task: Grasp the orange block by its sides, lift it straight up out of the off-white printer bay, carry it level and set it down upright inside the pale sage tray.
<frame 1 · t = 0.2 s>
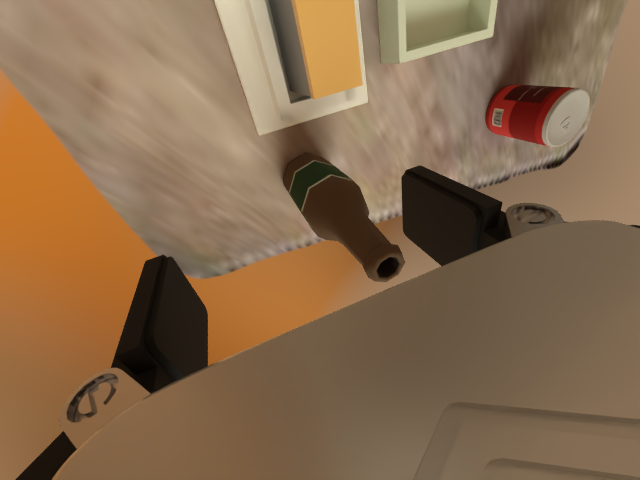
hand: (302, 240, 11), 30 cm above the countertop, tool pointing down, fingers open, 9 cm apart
beer bottle: (306, 176, 42), on the countertop
printer bay: (294, 28, 32), on the countertop
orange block: (299, 43, 32), point 1 cm above the countertop, touching printer bay
canned food: (501, 109, 48), on the countertop
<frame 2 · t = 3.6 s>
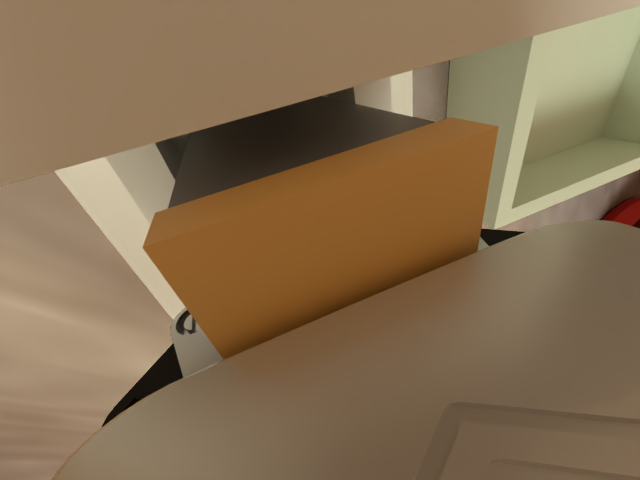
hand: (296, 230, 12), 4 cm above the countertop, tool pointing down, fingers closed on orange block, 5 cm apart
printer bay: (267, 166, 14), on the countertop
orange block: (279, 199, 14), point 1 cm above the countertop, touching gripper, printer bay
tray: (550, 41, 16), on the countertop
canned food: (610, 227, 30), on the countertop
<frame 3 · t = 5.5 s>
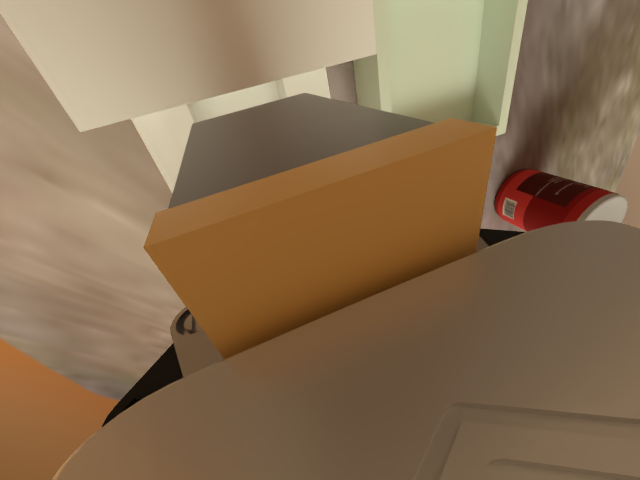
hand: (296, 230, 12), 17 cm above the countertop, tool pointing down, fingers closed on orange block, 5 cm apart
printer bay: (247, 134, 25), on the countertop
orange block: (279, 199, 14), point 14 cm above the countertop, touching gripper
tray: (420, 61, 27), on the countertop
canned food: (513, 193, 41), on the countertop
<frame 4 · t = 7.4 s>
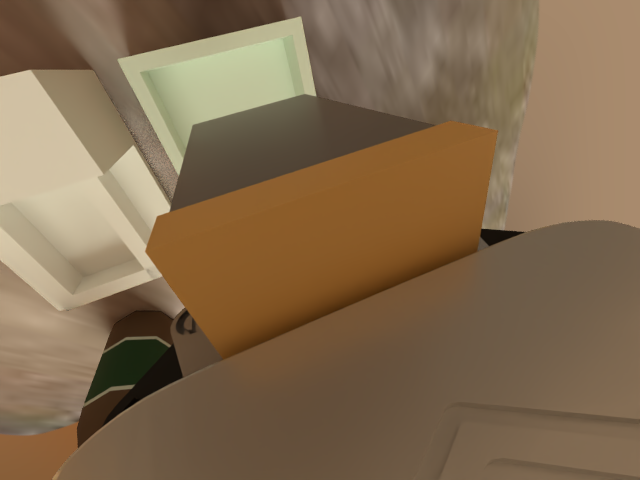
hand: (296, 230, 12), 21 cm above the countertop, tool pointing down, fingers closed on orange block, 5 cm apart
beer bottle: (147, 328, 37), on the countertop
printer bay: (75, 206, 27), on the countertop
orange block: (280, 200, 14), point 18 cm above the countertop, touching gripper
tray: (245, 133, 29), on the countertop
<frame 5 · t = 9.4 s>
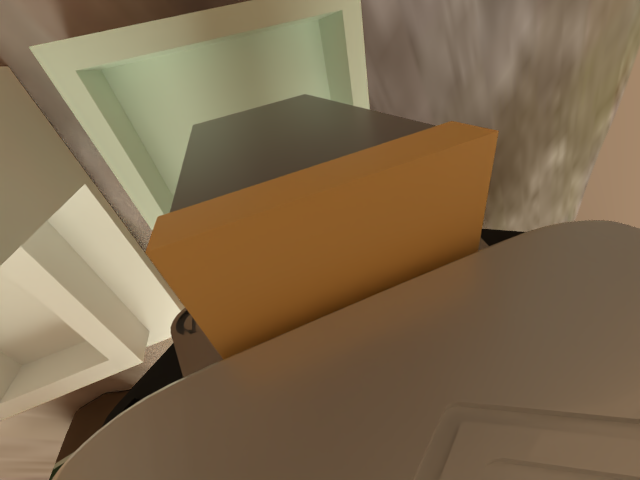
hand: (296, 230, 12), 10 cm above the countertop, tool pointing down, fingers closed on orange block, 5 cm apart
beer bottle: (122, 410, 28), on the countertop
printer bay: (1, 272, 18), on the countertop
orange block: (280, 200, 14), point 7 cm above the countertop, touching gripper
tray: (256, 161, 20), on the countertop
when the fingers open (6 cm above the countertop, at t = 11.2 s): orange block drops 1 cm, resting on tray.
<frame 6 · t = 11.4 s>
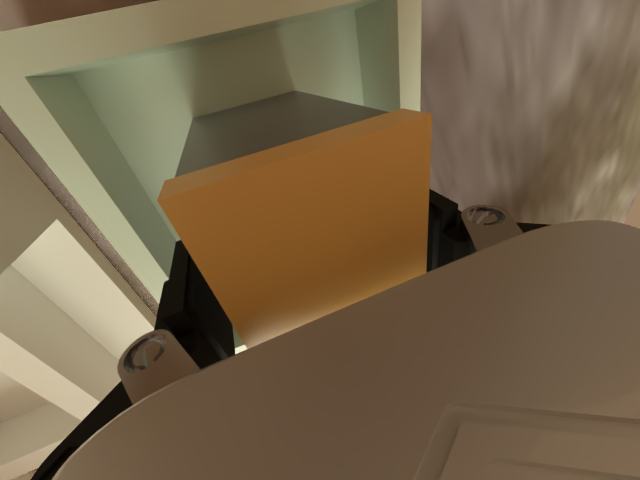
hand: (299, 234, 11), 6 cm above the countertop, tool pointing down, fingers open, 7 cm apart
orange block: (273, 189, 16), point 1 cm above the countertop, touching tray
tray: (271, 183, 16), on the countertop
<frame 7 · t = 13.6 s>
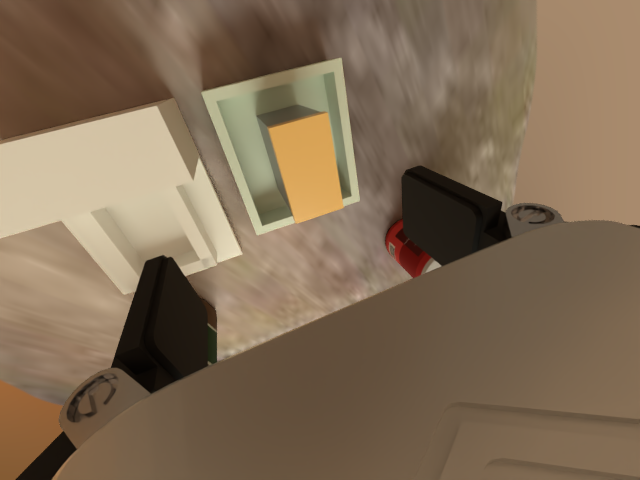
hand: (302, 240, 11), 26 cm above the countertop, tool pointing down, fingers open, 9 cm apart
beer bottle: (190, 314, 42), on the countertop
printer bay: (146, 206, 33), on the countertop
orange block: (287, 149, 34), point 1 cm above the countertop, touching tray
tray: (286, 147, 34), on the countertop
canned food: (402, 236, 48), on the countertop
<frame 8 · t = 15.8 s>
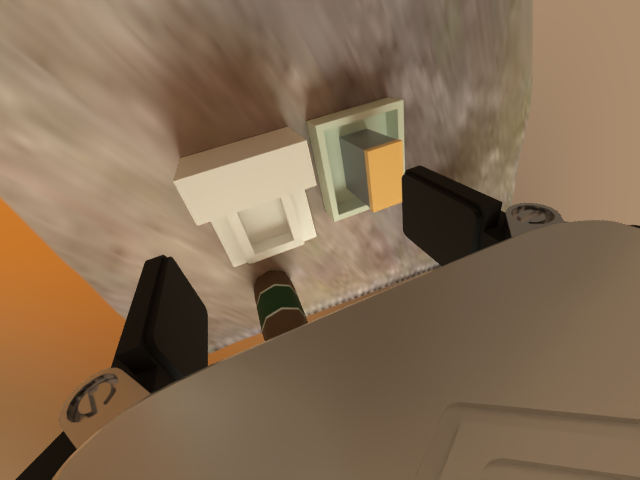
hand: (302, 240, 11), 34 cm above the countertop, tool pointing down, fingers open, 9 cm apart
beer bottle: (272, 284, 56), on the countertop
printer bay: (257, 202, 46), on the countertop
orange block: (356, 159, 47), point 1 cm above the countertop, touching tray
tray: (354, 158, 48), on the countertop
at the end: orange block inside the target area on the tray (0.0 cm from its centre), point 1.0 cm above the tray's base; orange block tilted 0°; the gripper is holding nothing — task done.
